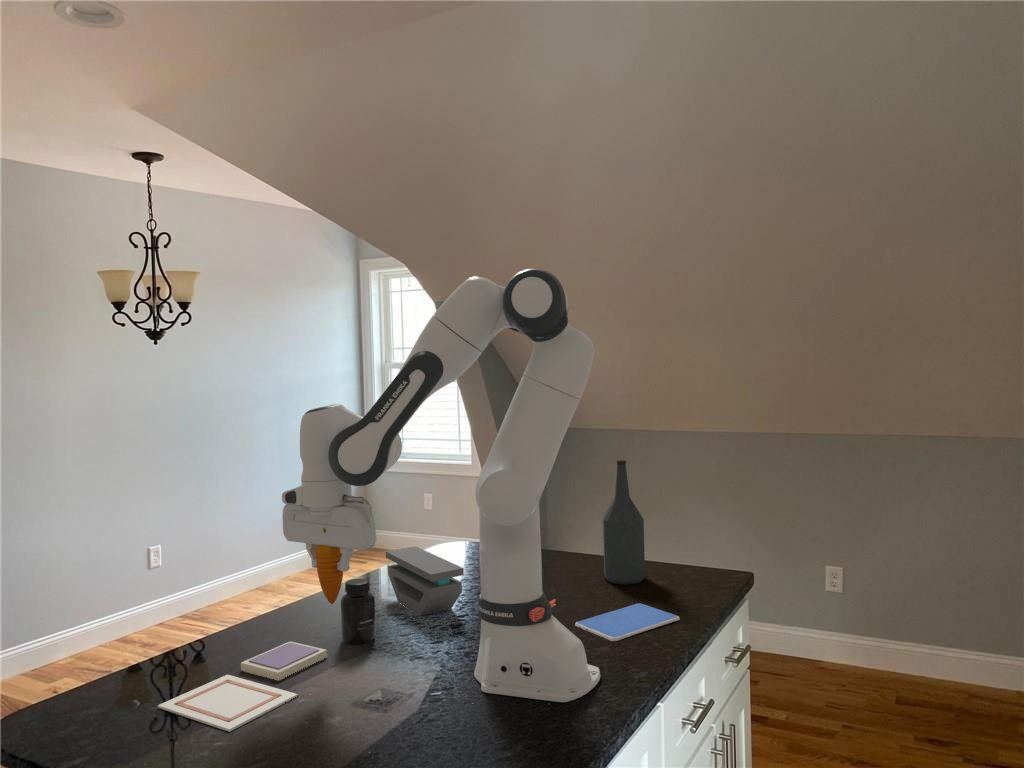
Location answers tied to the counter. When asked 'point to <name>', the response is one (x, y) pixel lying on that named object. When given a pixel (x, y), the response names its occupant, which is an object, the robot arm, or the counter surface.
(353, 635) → the supplement bottle
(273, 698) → the print card
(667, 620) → the tablet computer
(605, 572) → the bottle
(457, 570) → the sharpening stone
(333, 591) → the carrot
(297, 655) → the ink pad
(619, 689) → the counter surface
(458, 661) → the counter surface
